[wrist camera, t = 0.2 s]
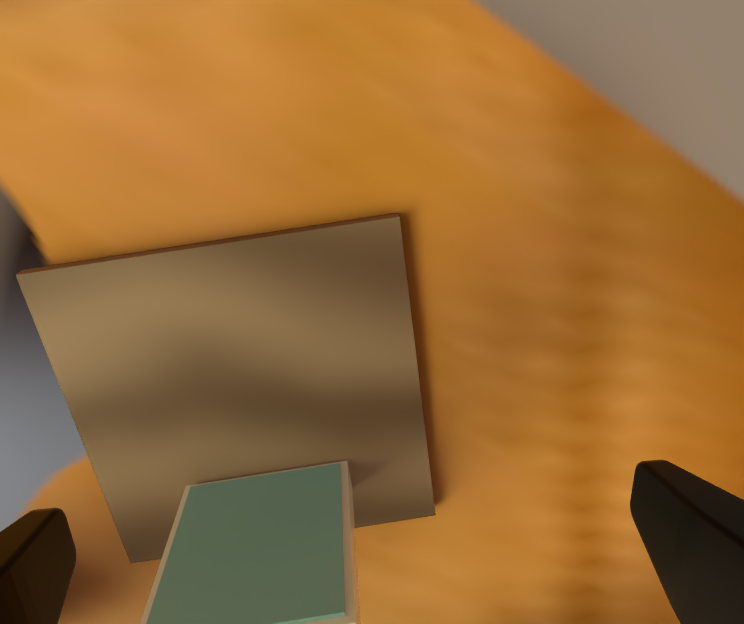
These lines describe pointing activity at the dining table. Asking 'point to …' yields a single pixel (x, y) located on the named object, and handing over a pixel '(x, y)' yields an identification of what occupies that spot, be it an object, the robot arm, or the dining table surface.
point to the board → (240, 368)
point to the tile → (261, 552)
